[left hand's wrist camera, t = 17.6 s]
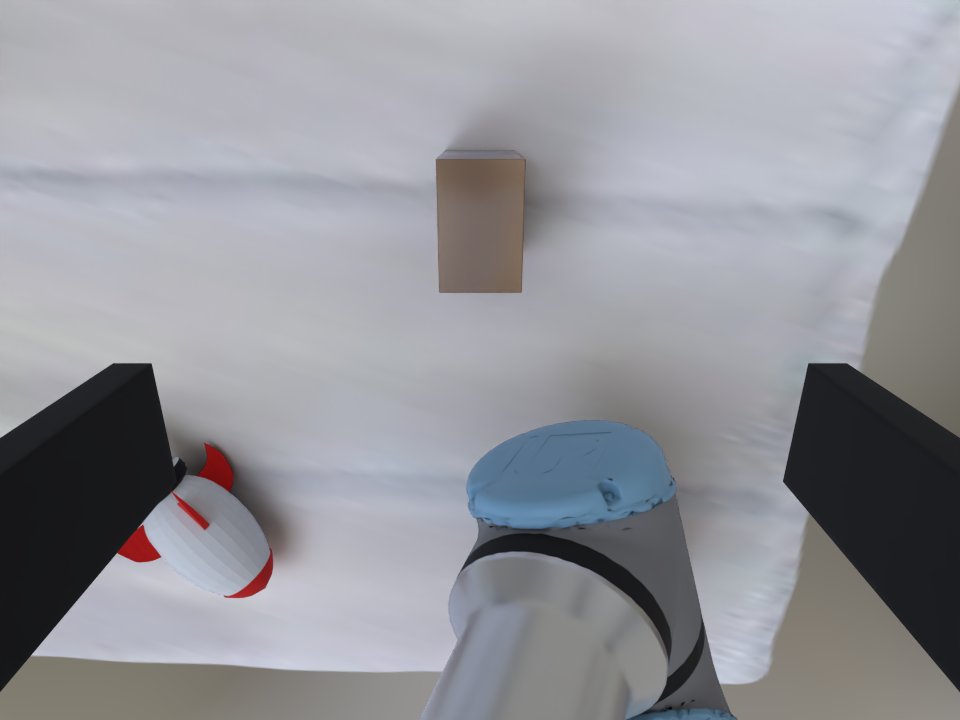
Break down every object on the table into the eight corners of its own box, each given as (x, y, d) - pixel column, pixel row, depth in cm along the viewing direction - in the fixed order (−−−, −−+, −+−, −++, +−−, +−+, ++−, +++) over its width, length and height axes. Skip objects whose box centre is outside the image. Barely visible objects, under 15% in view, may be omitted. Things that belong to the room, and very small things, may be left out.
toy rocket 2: (17, 487, 46) (203, 644, 53) (84, 446, 42) (276, 622, 49) (104, 415, 54) (256, 560, 61) (167, 374, 50) (322, 535, 57)
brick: (514, 150, 44) (525, 159, 34) (512, 256, 47) (521, 292, 37) (445, 150, 44) (435, 158, 34) (447, 256, 47) (439, 292, 37)
